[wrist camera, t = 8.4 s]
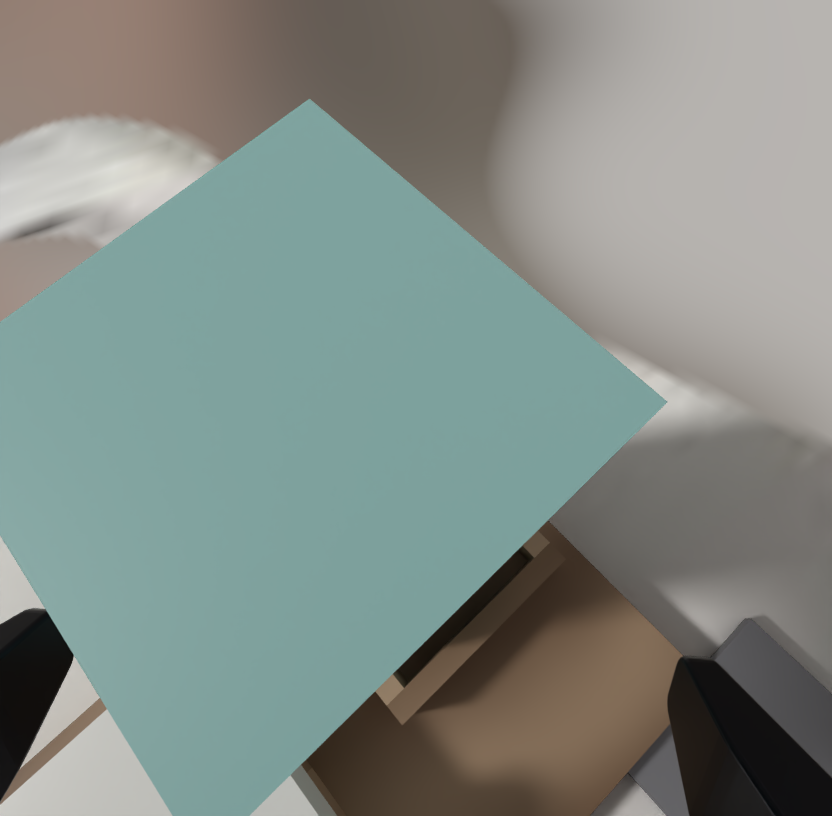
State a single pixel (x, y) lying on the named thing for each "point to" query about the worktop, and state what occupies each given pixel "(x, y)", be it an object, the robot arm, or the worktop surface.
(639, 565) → the worktop surface
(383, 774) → the board
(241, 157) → the block
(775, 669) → the mat
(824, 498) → the worktop surface
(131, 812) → the lid
